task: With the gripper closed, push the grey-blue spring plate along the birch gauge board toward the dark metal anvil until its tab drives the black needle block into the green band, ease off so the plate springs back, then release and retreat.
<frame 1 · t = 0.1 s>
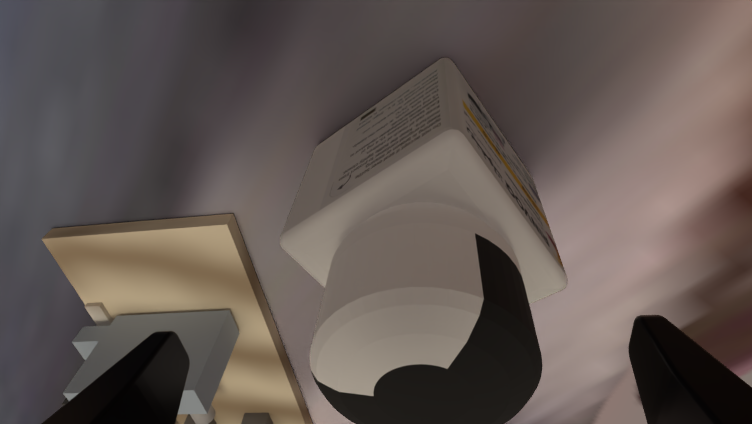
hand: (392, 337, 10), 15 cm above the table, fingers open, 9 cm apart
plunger: (161, 392, 30), point 4 cm above the table, slide at 0.0 cm
container: (423, 160, 24), on the table
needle: (99, 382, 30), point 4 cm above the table, slide at 0.0 cm
gauge board: (201, 342, 33), on the table
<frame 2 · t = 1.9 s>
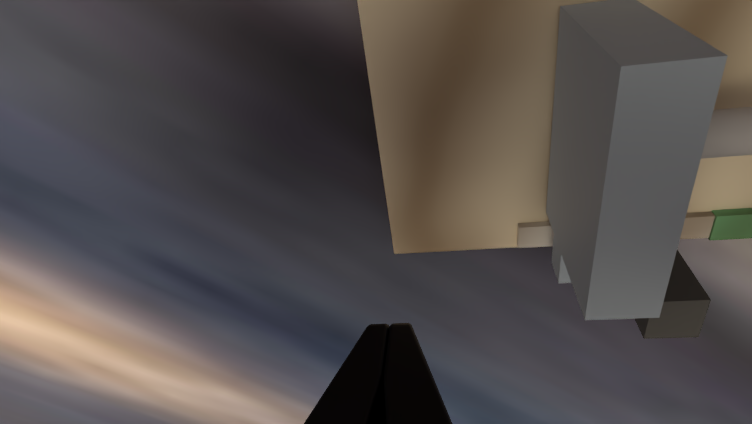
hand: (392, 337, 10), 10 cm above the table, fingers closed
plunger: (709, 180, 14), point 4 cm above the table, slide at 0.0 cm
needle: (651, 276, 17), point 4 cm above the table, slide at 0.0 cm
gauge board: (665, 96, 17), on the table
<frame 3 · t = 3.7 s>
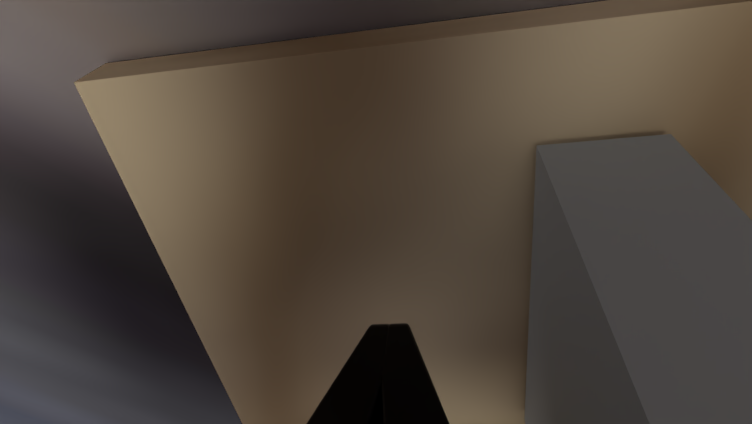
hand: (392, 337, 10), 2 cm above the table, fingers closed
gauge board: (643, 264, 11), on the table
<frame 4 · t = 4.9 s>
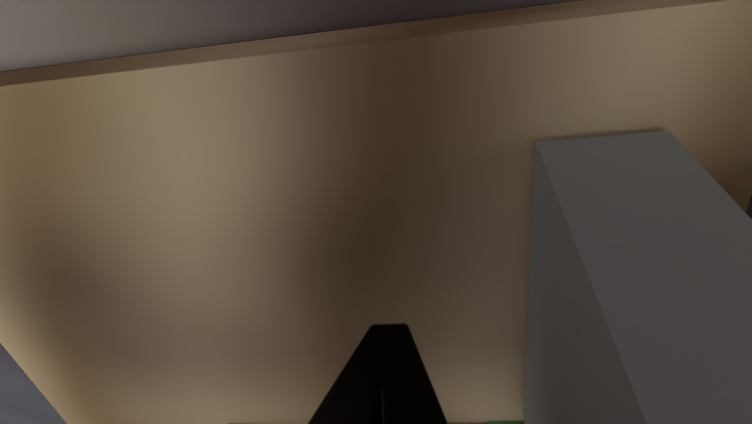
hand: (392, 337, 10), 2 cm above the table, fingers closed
gauge board: (390, 273, 11), on the table
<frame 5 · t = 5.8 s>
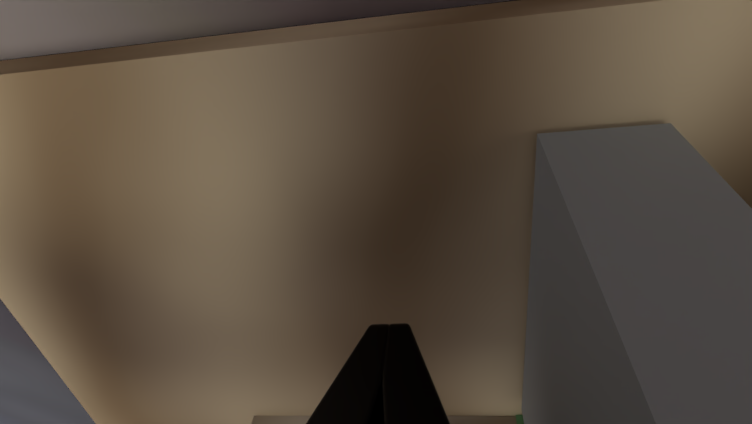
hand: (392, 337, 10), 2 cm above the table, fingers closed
gauge board: (424, 265, 11), on the table
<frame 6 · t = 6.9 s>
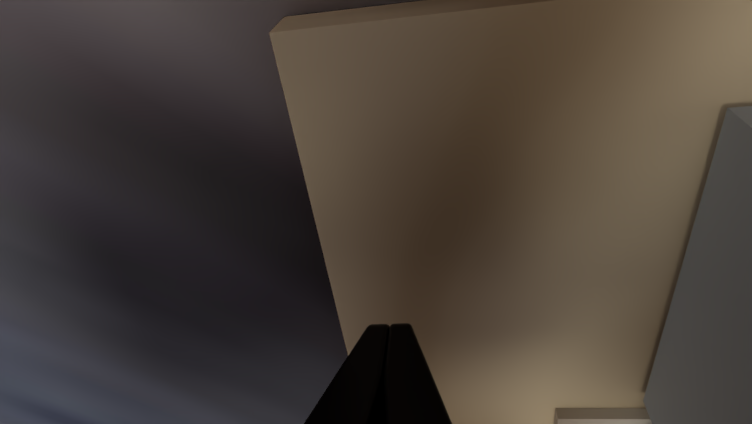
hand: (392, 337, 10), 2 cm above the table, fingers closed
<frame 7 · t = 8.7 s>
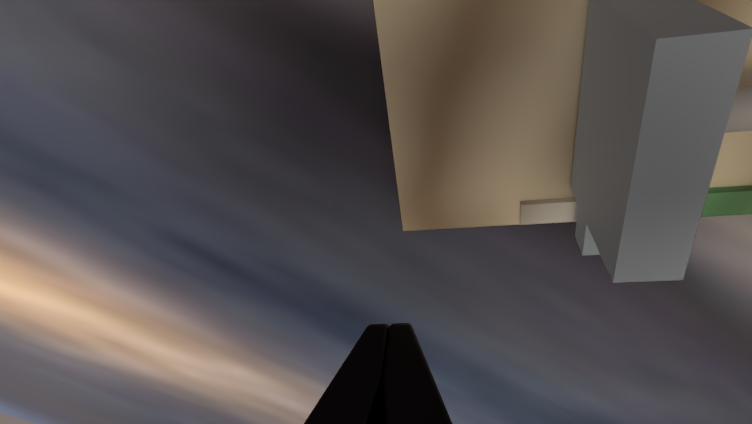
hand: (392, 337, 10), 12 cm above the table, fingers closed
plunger: (729, 152, 15), point 4 cm above the table, slide at 0.9 cm
gauge board: (658, 79, 18), on the table
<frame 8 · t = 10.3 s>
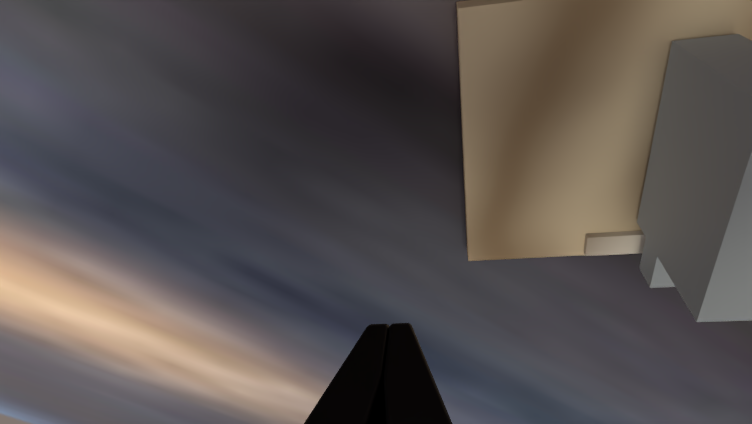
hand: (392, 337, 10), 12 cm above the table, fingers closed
gauge board: (727, 120, 19), on the table
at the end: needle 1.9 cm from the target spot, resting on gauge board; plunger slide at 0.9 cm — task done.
